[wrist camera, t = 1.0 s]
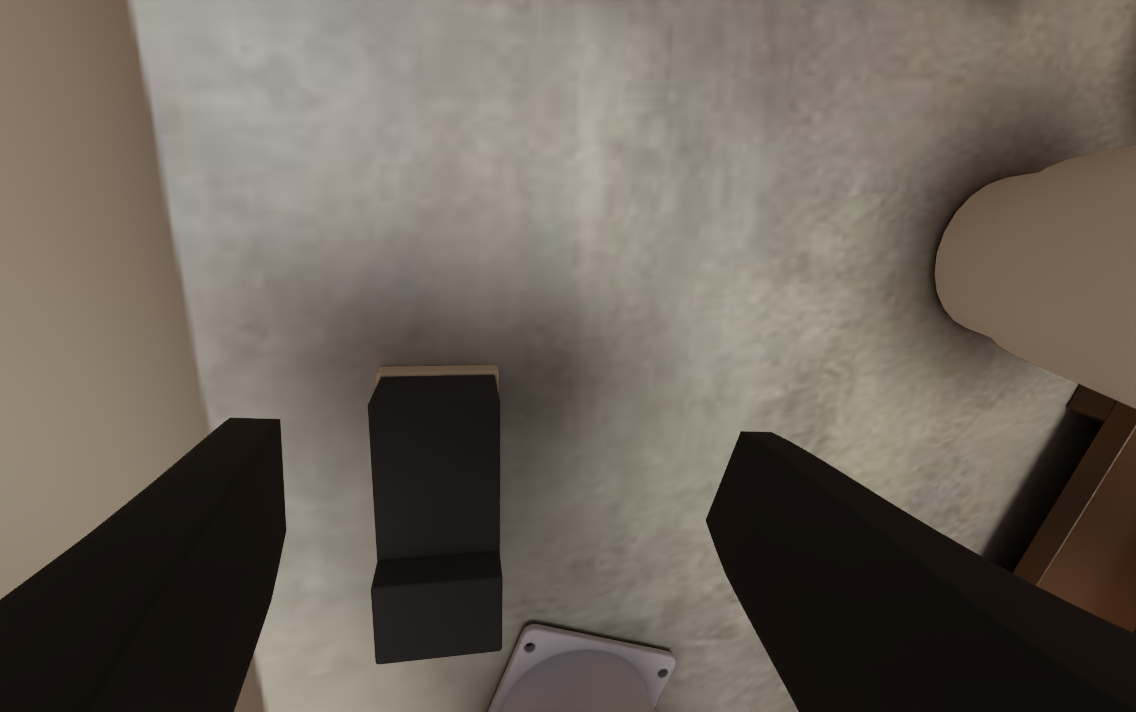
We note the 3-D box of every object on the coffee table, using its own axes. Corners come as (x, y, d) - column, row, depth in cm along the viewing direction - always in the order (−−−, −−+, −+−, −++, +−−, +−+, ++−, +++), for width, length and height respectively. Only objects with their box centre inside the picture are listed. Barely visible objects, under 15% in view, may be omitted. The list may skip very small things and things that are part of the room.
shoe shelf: (1059, 637, 33) (1160, 710, 28) (947, 607, 31) (1037, 681, 26) (1194, 426, 30) (1331, 467, 26) (1084, 375, 28) (1211, 410, 23)
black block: (496, 560, 25) (506, 656, 19) (390, 568, 24) (370, 671, 19) (497, 364, 22) (508, 413, 17) (379, 366, 21) (353, 418, 16)
